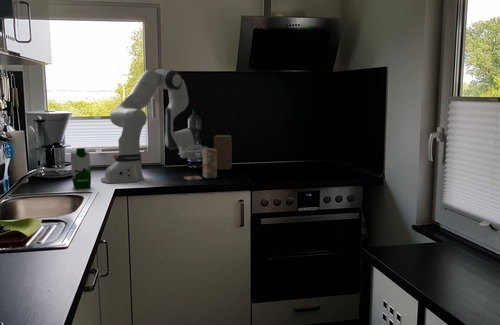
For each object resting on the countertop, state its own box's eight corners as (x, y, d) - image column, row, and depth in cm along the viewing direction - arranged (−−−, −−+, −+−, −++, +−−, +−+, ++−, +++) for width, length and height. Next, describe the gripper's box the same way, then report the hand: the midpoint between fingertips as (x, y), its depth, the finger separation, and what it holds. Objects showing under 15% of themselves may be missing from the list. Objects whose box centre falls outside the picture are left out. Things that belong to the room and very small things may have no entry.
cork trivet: (188, 180, 263) (188, 179, 263) (183, 178, 270) (183, 176, 270) (202, 179, 267) (202, 178, 267) (197, 176, 274) (197, 175, 274)
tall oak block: (206, 178, 269) (206, 150, 267) (202, 176, 275) (202, 149, 272) (216, 177, 272) (216, 149, 270) (212, 175, 277) (212, 148, 275)
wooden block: (230, 169, 298) (230, 136, 295) (214, 169, 298) (214, 136, 295) (231, 166, 308) (231, 135, 305) (215, 166, 308) (215, 135, 305)
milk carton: (74, 190, 239) (72, 149, 236) (71, 186, 247) (69, 147, 244) (92, 188, 243) (90, 148, 240) (89, 185, 251) (87, 146, 248)
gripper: (176, 148, 288) (184, 150, 276) (208, 146, 298) (217, 148, 286) (176, 158, 289) (184, 161, 277) (208, 156, 299) (217, 159, 287)
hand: (201, 155), depth 281 cm, fingers closed
